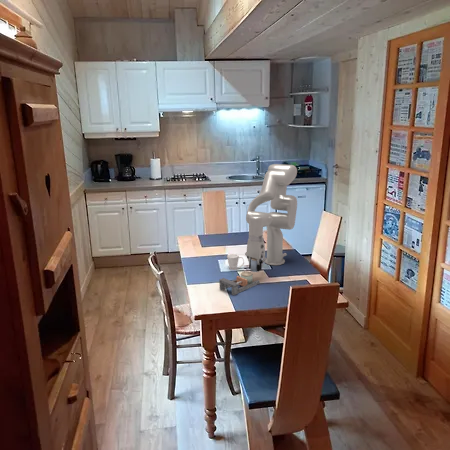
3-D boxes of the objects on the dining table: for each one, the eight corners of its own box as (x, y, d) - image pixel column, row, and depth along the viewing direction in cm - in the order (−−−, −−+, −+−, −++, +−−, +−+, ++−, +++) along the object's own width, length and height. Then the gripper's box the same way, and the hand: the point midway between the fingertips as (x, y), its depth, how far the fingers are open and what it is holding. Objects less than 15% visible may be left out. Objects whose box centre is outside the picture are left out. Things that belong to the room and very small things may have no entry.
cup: (227, 266, 253) (226, 253, 251) (243, 265, 253) (243, 253, 251) (227, 270, 246) (227, 257, 244) (244, 270, 247) (244, 257, 244)
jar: (254, 268, 234) (254, 256, 232) (261, 270, 231) (261, 258, 229) (248, 270, 231) (248, 258, 229) (255, 272, 227) (255, 260, 226)
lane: (245, 278, 235) (245, 269, 233) (259, 283, 228) (259, 274, 226) (219, 289, 222) (219, 279, 220) (233, 295, 214) (233, 285, 213)
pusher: (237, 283, 228) (237, 276, 227) (247, 287, 223) (247, 279, 222) (224, 288, 222) (224, 281, 221) (234, 292, 217) (234, 285, 216)
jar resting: (246, 280, 233) (246, 270, 231) (255, 283, 228) (255, 273, 226) (238, 283, 228) (238, 273, 227) (246, 287, 224) (246, 276, 222)
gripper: (272, 239, 223) (271, 271, 227) (248, 233, 234) (248, 264, 239) (263, 242, 218) (262, 275, 222) (239, 236, 229) (239, 267, 234)
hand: (255, 269), depth 231 cm, fingers closed on jar, 5 cm apart
